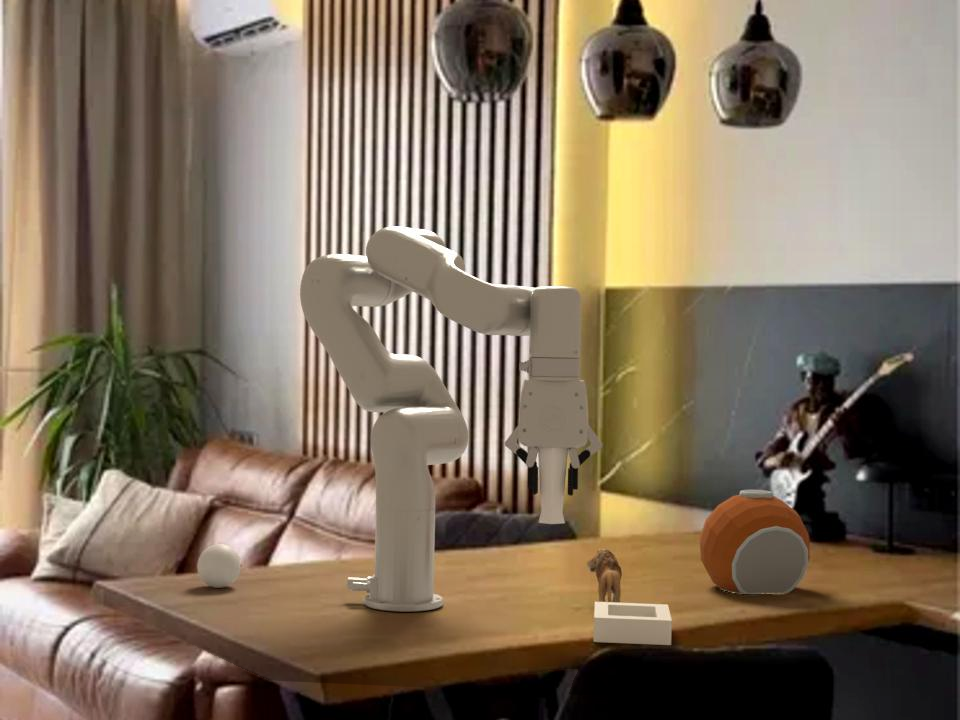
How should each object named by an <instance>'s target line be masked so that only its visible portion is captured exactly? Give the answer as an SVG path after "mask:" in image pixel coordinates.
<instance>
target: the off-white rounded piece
mask: <svg viewBox="0 0 960 720" xmlns="http://www.w3.org/2000/svg"><path fill="white" fill-rule="evenodd" d="M242 566H243V565H242V561H241V558H240V555H239V553H238V552H237V551H236V550H235V549H234V547H232V546H229V545H227V544H225V543H224V544H223V543H217V544H212V545H210V546H208V547H206V548H204V550H203V551H202V552H201V554H200V556H199V557H198V560H197V564H196V569H197V574H198V576H199V577H200V579H201V581H203V582H204V583H205V584H206V586H207V585H208V586H210V587H211V588H219V589H220V588H225V587H228V586H230V585H232V584H233V583H234V582H235V581H236V580H237V579H238V578H239V575H240V574H241V568H242Z"/></svg>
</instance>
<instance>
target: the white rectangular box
mask: <svg viewBox="0 0 960 720" xmlns="http://www.w3.org/2000/svg"><path fill="white" fill-rule="evenodd" d="M593 614H594V615H593V616H594V617H593V618H594V619H593V642H594V643H609V644H610V643H611V644H612V643H613V644H630V645H631V644H635V645H636V644H637V645H658V646H661V645H662V646H672V625H673V621H672V620H673V619H672V615H671V612H670V608H669V604H662V603H635V602H620V603H617V602H608V601H605V602H599V601H594V612H593Z"/></svg>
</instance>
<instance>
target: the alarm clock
mask: <svg viewBox="0 0 960 720" xmlns="http://www.w3.org/2000/svg"><path fill="white" fill-rule="evenodd" d="M699 546H700V548H699V549H700V561H701V563H702V565H703V567H704V569H705V571H706V572H707V574H708V576H709V577H710V579H711V582H712V583H713V584H715V585H716V586H717V588H718V587H719V588H720V589H721V590H725V591H729V592H735V593H742V594H762V593H764V594H767V593H770V594H771V593H775V594H774V595H777V594H776V593H780V594H779V595H782V594H781V593H787V594H789V593H791V592H792V591H793V590H794V589H795V588H796V587H797V586H798V585H799V583H800V582H801V581H802V580H803V579H804V576H805V574H806V571H807V568H808V565H809V562H810V559H811V558H810V557H811V552H810V551H811V550H810V535H809V531H808V530H807V528H806V526H805V524H804V523H803V520H802V518H801V516H800V515H799V513H798V512H797V511H796V509H794V508H792V507H791V506H790V505H788V504H787V503H786V502H784V501H783V500H782V499H780V498H779V497H777V496H775V495H774V493H773V492H772V491H770V490H765V489H743V490H740V491H739V494H736V495H733V496H732V495H731V497H729V498H728V499H725V500H724V501H723V502H721V503H720V504H717V506H716V507H715V508H714V509H713V510H712V512H711V513H710V514H709V515H708V517H706V519H705V521H704V525H703V527H702V530H701V533H700V536H699ZM719 588H718V589H719ZM720 589H719V590H720ZM721 590H720V591H721ZM725 591H724V592H725Z"/></svg>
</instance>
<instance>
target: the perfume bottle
mask: <svg viewBox="0 0 960 720" xmlns="http://www.w3.org/2000/svg"><path fill="white" fill-rule="evenodd" d="M568 455H569V452H568V448H540V447H539V448H538V454H537V457H538V478H539V493H540V515H539V519H538V524H547V525H548V524H549V525H560V524H565V523H566V521H565V518H564V514H563V513H564V512H563V510H564V499H565V491H566V489H565V487H566V478H567V465H568Z"/></svg>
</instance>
